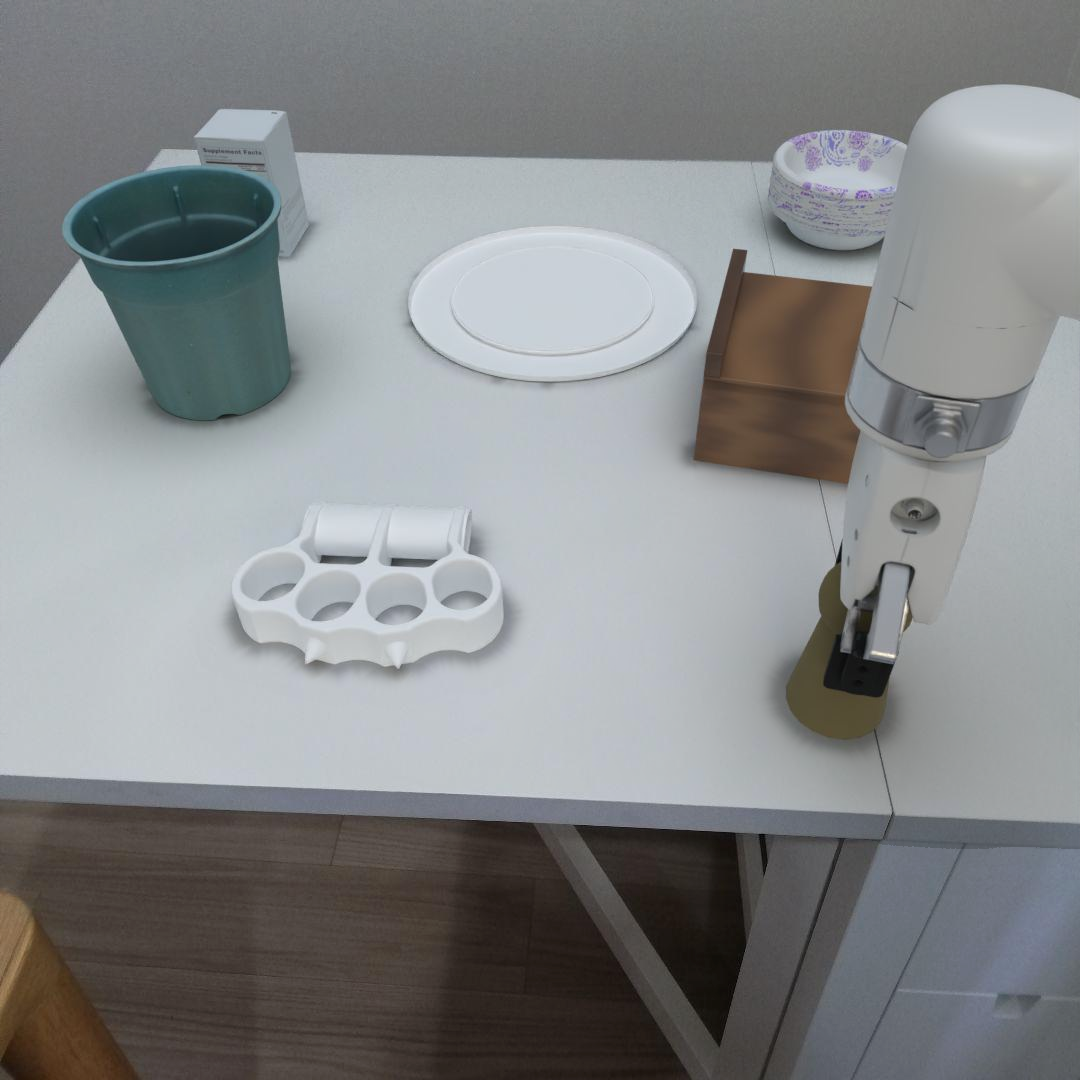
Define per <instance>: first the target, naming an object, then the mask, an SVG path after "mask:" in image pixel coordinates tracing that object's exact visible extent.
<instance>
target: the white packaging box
mask: <svg viewBox="0 0 1080 1080" xmlns="http://www.w3.org/2000/svg"><path fill="white" fill-rule="evenodd" d="M193 140H194V143H195V147H196V150H197V155H198V158H199V162H200V165H212V166H224V167H232V168H237V169H242V170H246V171H249V172H252V173H255V174H257V175H260V176H261V177H263V178H265V179H267V180H268V181H270V182H271V183H272V184H273V185H274V186H275V187H276V188H277V190H278V191H279V193H280V196H281V212H280V215H279V217H278V219H277V220H278V232H279V242H280V251H279V256H278V257H283V258H284V257H285V258H288V257H289V258H290V257H292V254H293V253H294V251H295V250H296V248H297V246H298V244H299V243H300V241H301V239H302V238H303V236H304V235H305V233H306V232H307V230H308V228H309V227H310V222H309V216H308V212H307V207H306V202H305V198H304V193H303V188H302V183H301V178H300V172H299V168H298V163H297V157H296V153H295V148H294V143H293V137H292V132H291V128H290V122H289V118H288V113H287V112H286V111H284V110H277V109H276V110H275V109H241V108H239V109H238V108H220V109H217V111H216V112H215V113H214V114H213V116H212V117H211V118H210V119H209V120H208V121H207V122H206V123H205V125H203V127H202V128H201V129H200V130H199V131H198V132H197V133H196V134H195V135H194V136H193Z"/></svg>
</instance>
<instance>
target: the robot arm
mask: <svg viewBox="0 0 1080 1080" xmlns="http://www.w3.org/2000/svg"><path fill="white" fill-rule="evenodd" d="M907 145H908V146H907V149H906V152H905V156H904V160H903V164H902V168H901V172H900V176H899V180H898V184H897V188H896V192H895V196H894V200H893V204H892V208H891V213H890V217H889V221H888V225H887V229H886V233H885V236H884V237H883V242H882V245H881V250H880V254H879V258H878V262H877V264H876V265H877V266H876V270H875V273H874V277H873V281H872V285H871V286H872V289H871V293H870V298H869V302H868V306H867V310H866V314H865V318H864V322H863V326H862V330H861V334H860V338H859V342H858V346H857V350H856V354H855V358H854V362H853V366H852V370H851V374H850V378H849V382H848V387H847V391H846V395H845V406H846V410H847V413H848V415H849V416H850V418H851V420H852V421H853V423H854V424H855V425H856V426H857V427H858V428H859V429H860V430H861V431H860V435H859V439H858V442H857V446H856V450H855V455H854V459H853V463H852V468H851V473H850V477H849V483H848V484H847V490H846V496H845V497H846V498H845V505H844V513H843V514H844V516H843V526H842V527H843V528H842V538H841V541H840V545H839V548H838V552H837V557H836V559H835V563H834V566H835V565H837V564H838V563H840V562H841V583H840V599H841V601H842V602H843V604H844V605H845V606H846V607H847V608H848V611H847V616H846V620H845V625H844V629H843V634H840V635H839V634H836V637H835V640H834V643H833V647H832V650H831V653H830V657H829V660H828V663H827V666H826V670H825V673H824V678H823V685H824V686H825V687H826V688H828V689H833V690H838V691H843V692H847V693H850V694H855V695H864V696H869V697H875V698H878V697H881V696H882V695H883V693H884V690H885V688H886V685H887V682H888V680H889V681H890V679H889V677H890V678H891V675H892V672H893V669H894V666H895V664H896V662H897V659H898V655H899V653H900V647H901V642H902V638H903V635H904V632H905V631H904V626H905V622H906V618H907V614H908V610H909V605H910V608H911V612H912V616H913V619H912V621H913V622H914V623H916V624H917V623H918V624H923V625H924V624H925V625H932V624H934V623H935V622H937V620H938V619H939V618H940V617H941V615H942V611H943V608H944V605H945V603H946V600H947V597H948V594H949V591H950V588H951V585H952V582H953V580H954V577H955V573H956V570H957V567H958V565H959V561H960V559H961V555H962V552H963V549H964V546H965V543H966V540H967V536H968V534H969V530H970V528H971V524H972V520H973V517H974V514H975V509H976V507H977V502H978V498H979V494H980V490H981V485H982V483H983V482H982V481H983V476H984V471H985V467H986V461H987V457H988V456H990V455H992V454H995V453H996V452H997V451H999V450H1000V449H1002V448H1004V446H1005V445H1007V443H1008V442H1009V440H1010V439H1011V437H1012V435H1013V433H1014V431H1015V428H1016V426H1017V423H1018V421H1019V418H1020V416H1021V413H1022V411H1023V408H1024V406H1025V403H1026V400H1027V398H1028V396H1029V393H1030V391H1031V389H1032V386H1033V385H1034V381H1035V378H1036V376H1037V373H1038V371H1039V369H1040V366H1041V364H1042V361H1043V359H1044V357H1045V355H1046V351H1047V349H1048V346H1049V344H1050V343H1051V342H1050V341H1051V339H1052V337H1053V334H1054V332H1055V330H1056V327H1057V325H1058V322H1059V320H1060V317H1064V318H1068V319H1071V320H1075V321H1079V322H1080V98H1079V97H1076V96H1074V95H1070V94H1068V93H1065V92H1061V91H1058V90H1053V89H1051V88H1050V89H1049V88H1045V87H1039V86H1031V85H1025V84H1024V85H1022V84H1006V83H1004V84H1003V83H1002V84H986V85H975V86H971V87H966V88H965V87H964V88H962V89H958V90H955V91H952V92H949V93H948V94H945V95H944V96H942V97H939V98H938V99H937V100H935V101H933V102H932V103H931V105H929V106H928V107H927V108H926V109H925V110H924V112H922V114H921V115H920V116H919V118H918V120H917V121H916V123H915V125H914V127H913V129H912V130H911V132H910V136H909V139H908V143H907ZM875 585H877V592H876V595H874V594H869V593H870V592H871V591H872V590H873V589H874V588H875ZM861 610H863V611H868V612H873V616H872V622H871V628H870V632H869V633H867V632H861V631H857V627H858V623H859V618H860V614H861ZM903 631H904V632H903Z"/></svg>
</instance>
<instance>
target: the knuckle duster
mask: <svg viewBox="0 0 1080 1080" xmlns="http://www.w3.org/2000/svg"><path fill="white" fill-rule="evenodd" d="M472 527H473V511H472V509H471V508H468V506H463V505H458V506H457V507H456V508H455V507H432V506H407V505H398V504H397V503H387V504H386V505H382V504H381V505H380V504H358V503H357V504H356V503H334V502H333V503H329V502H328V501H326V500H318V501H316V502H312V503H311V504H310V505H309V506H308V507H307V509H306V512H305V514H304V517H303V520H302V524H301V530H300V533H299V535H298V536H296V537H295V538H293V539H292V540H291V541H289V542H287V544H285V545H282V546H274V547H272V548H271V547H270V548H266V549H265V550H262V551H260V552H258V553H256V554H254V555H253V556H250V557H249V558H248V559H246V560H245V561H244V562H243V563H242V564H241V565H240V566H239V567H238V569H237V570H236V572H235V573H234V575H233V578H232V580H231V584H230V594H231V598H232V601H233V604H234V606H235V609H236V613H237V615H238V618H239V620H240V624H241V626H242V629H243V630H244V632H245V634H247V636H248V637H249V638H250V639H251V640H253V641H255V642H256V643H259V644H266V643H283V644H287V645H291V646H294V647H296V648H298V650H300V651H302V652H303V653H304V666H306V665H308V664H310V663H311V662H314V661H315V660H316V661H320V662H324V663H327V664H331V665H333V666H334V665H337V664H340V663H344V662H350V661H366V662H370V663H375V664H377V665H378V666H382V667H383V668H387V667H393V666H394V667H396V669H397V670H399V669H400V668H401V666H402V665H406V664H413V663H415V662H417V661H418V660H420V659H422V658H424V657H426V656H427V655H431V654H433V653H436V652H441V651H443V652H444V651H457V652H463V653H466V654H471V653H474V652H477V651H479V650H481V649H483V648H485V647H486V646H488V645H489V644H490V643H492V642H493V641H494V640H495V638H496V637H497V636H498V635H499V633H500V632H501V629H502V628H503V624H504V619H505V610H504V594H503V583H502V579H501V576H500V573H499V572H498V570H497V569H496V568H495V566H493V565H492V564H491V563H490V562H489V561H487V560H485V559H484V558H482V557H480V556H477V555H475V554H470V553H469V551H470V546H471V545H470V544H471V537H472ZM323 556H336V557H357V558H361V557H362V558H366V559H365V560H363V561H362V562H360V563H356V564H349V563H347V564H345V563H323V562H322V563H321V560H322V557H323ZM393 559H410V560H433V561H434V560H436V561H434V563H432V564H431V565H429V566H425V567H416V566H394V565H392V562H393ZM287 584H292V585H295V586H294V587H293V588H292V589H291V590H290V591H289V592H287V593H286V594H284V595H282V596H280V597H278V598H275V599H270V600H261V599H262V597H263V596H264V595H265V594H266V593H267V592H269V591H270V590H272V589H274V588H276V587H278V586H282V585H287ZM460 592H472V593H476V594H479V595H481V596H482V597H484V598H486V600H484V602H482V603H480V604H479V605H476V606H474V607H472V608H467V609H457V608H451V607H448V606H446V605H444V604H442V602H443V601H444V600H445V599H446V598H448V597H449V596H451V595H453V594H457V593H460ZM338 603H348V604H349V603H350V604H351V606H350V608H349V609H348V610H347V611H346V612H344V614H342V615H340V616H338V617H335V618H333V619H330V620H322V621H321V620H320V621H319V620H316V621H315V620H313V618H315V616H316V615H317V613H319V612H320V611H322V609H324V608H326V607H328V606H331V605H333V604H338ZM397 606H412V607H415V608H417V609H419V610H421V612H420V614H419V615H418V616H416V617H415V618H413V619H412V620H409V621H407V622H404V623H398V624H386V623H384V622H381V621H378V620H376V619H377V618H378V617H379V616H380V615H381V614H382V613H383V612H385V611H386V610H388V609H391V608H393V607H397Z"/></svg>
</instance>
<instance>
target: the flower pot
mask: <svg viewBox="0 0 1080 1080" xmlns="http://www.w3.org/2000/svg"><path fill="white" fill-rule="evenodd" d="M280 212H281V196H280V193H279V191H278V190H277V188H276V187H275V186H274V185H273V184H272V183H271V182H270V181H268V180H267V179H265V178H263V177H261V176H260V175H257V174H255V173H252V172H249V171H246V170H242V169H237V168H232V167H224V166H212V165H201V164H199V165H198V164H197V165H196V164H195V165H191V164H190V165H177V166H167V167H161V168H157V169H151V170H146V171H143V172H138V173H135V174H134V173H133V174H132V175H127V176H125V177H122V178H119V179H117V180H114V181H111V182H109V183H107V184H104V185H102V186H100V187H98V188H95V189H94V190H92V191H91V192H88V193H87V194H86V195H85V196H83V197H82V198H80V199H79V200H78V201H76V203H74V204H73V205H72V207H71V208H70V209H69V211H67V214H65V216H64V219H63V221H62V224H61V233H62V237H63V239H64V241H65V243H66V244H67V246H68V247H69V248H70V250H71V251H73V252H74V253H75V254H76V255H78V256H79V257H80V260H81V261H82V264H83V265H84V268H85V269H86V270H87V273H88V275H89V277H90V279H91V281H92V283H93V284H94V286H95V287H96V288H97V289H98V290H99V291H100V292H101V293H102V295H103V297H104V299H105V301H106V303H107V305H108V307H109V309H110V311H111V313H112V315H113V317H114V320H115V321H116V324H117V326H118V328H119V330H120V332H121V334H122V336H123V338H124V340H125V342H126V344H127V346H128V349H129V350H130V352H131V354H132V357H133V359H134V361H135V363H136V366H137V367H138V369H139V371H140V373H141V375H142V377H143V380H144V382H145V384H146V387H147V388H148V390H149V392H150V394H151V396H152V398H153V401H155V403H156V404H157V405H158V406H159V407H160V408H162V409H163V410H164V411H166V412H167V413H170V414H171V415H173V416H177V417H180V418H183V419H187V420H188V419H189V420H191V421H192V420H193V421H216V420H217V419H219V417H221V416H223V415H236V416H242V415H245V414H248V413H250V412H253V411H255V410H257V409H260V408H261V407H263V406H264V405H266V404H268V403H269V402H271V401H272V400H274V399H275V398H276V397H277V396H278V395H280V393H281V392H283V390H284V389H285V387H286V386H287V384H288V382H289V381H290V377H291V375H292V374H291V373H292V367H291V366H292V365H291V357H290V349H289V341H288V334H287V325H286V317H285V310H284V302H283V294H282V292H283V291H282V285H281V276H280V266H279V259H278V258H279V257H280V256H279V251H280V242H279V232H278V220H277V219H278V217H279V215H280Z"/></svg>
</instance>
